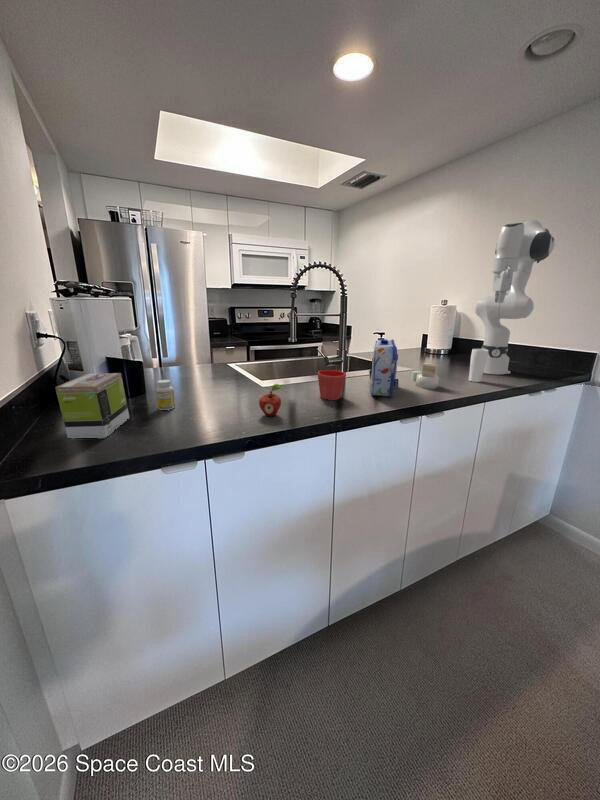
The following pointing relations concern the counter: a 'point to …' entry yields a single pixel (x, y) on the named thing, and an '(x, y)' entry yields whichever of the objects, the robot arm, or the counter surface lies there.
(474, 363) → the white tall block
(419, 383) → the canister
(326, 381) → the flower pot
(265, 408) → the apple
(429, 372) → the maple cube
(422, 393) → the counter surface
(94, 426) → the tea box
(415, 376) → the sage block
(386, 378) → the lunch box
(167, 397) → the supplement bottle
